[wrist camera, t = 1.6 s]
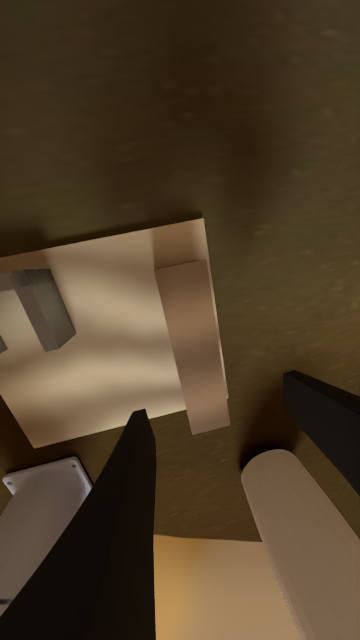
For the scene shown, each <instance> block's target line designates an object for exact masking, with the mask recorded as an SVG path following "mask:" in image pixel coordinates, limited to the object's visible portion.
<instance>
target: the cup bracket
mask: <svg viewBox="0 0 360 640" xmlns="http://www.w3.org/2000/svg"><path fill="white" fill-rule="evenodd" d="M11 290H15V291H16V293H17V296H18V298H19V300H20V302H21V304H22V306H23V308H24V310H25V312H26V314H27V316H28V318H29V320H30V322H31V324H32V327H33V329H34V331H35V333H36V335H37V337H38V339H39V341H40V343H41V345H42V347H43V349H44V351H45V352H48V351H52V350H57V349H60V348H61V347H62V346H63V345H64V344H65V343H67V342H68V341H69V340H70V339H71V338H72V337H73V336H75V335H76V331H75V329H74V326H73V324H72V321H71V319H70V316H69V314H68V312H67V309H66V307H65V304H64V302H63V299H62V297H61V294H60V292H59V289H58V287H57V285H56V282H55V280H54V277H53V275H52V272H51V270H50V269H24V270H18V271H13V272H8V273H3V274H0V293H1V292H6V291H11ZM6 350H8V348H7V346H6V344H5V342H4V341H3V339H2V337H1V335H0V354H1V353H2V352H4V351H6Z"/></svg>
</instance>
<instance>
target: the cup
mask: <svg viewBox="0 0 360 640" xmlns="http://www.w3.org/2000/svg"><path fill="white" fill-rule="evenodd" d="M241 481H242V484H243V487H244V490H245V493H246V496H247V499H248V502H249V505H250V508H251V511H252V514H253V517H254V520H255V522H256V525H257V528H258V531H259V533H260V536H261V539H262V541H263V544H264V547H265V550H266V552H267V555H268V558H269V560H270V563H271V565H272V568H273V571H274V573H275V576H276V579H277V581H278V584H279V587H280V589H281V592H282V594H283V596H284V599H285V601H286V604H287V606H288V609H289V611H290V614H291V616H292V618H293V621H294V623H295V625H296V628H297V631H298V633H299V636H300V638H301V640H360V540H359V538H358V537H357V536H356V534H355V533H354V531H353V530H352V529H351V527H350V526H349V525H348V523H347V522H346V521H345V519H344V518H343V517H342V515H341V514H340V513H339V511H338V510H337V509H336V507H335V506H334V505H333V504H332V502H331V501H330V500H329V498H328V497H327V496H326V494H325V493H324V492H323V490H322V489H321V488H320V487H319V485H318V484H317V483H316V482H315V480H314V479H313V478H312V476H311V475H310V474H309V473H308V471H307V470H306V469H305V468H304V466H303V465H302V464H301V463H300V462H299V460H298V459H297V458H296V457H295V455H294V454H292V453H291V452H289V451H287V450H284V449H275V450H269V451H266V452H263V453H261V454H259V455H257V456H255V457H254V458H253V459H252V460H251V461H249V462H248V464H247V465H246V466H245V468H244V470H243V472H242V475H241Z"/></svg>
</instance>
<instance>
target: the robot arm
mask: <svg viewBox="0 0 360 640" xmlns="http://www.w3.org/2000/svg"><path fill="white" fill-rule="evenodd" d="M283 385H284V406H285V407H286V408H287V410H288V411H289V413H290V414H291V416H292V417H293V418H294V420H295V421H296V422H297V424H298V425H299V426H300V427H301V429H302V430H303V431H304V432H305V433H306V434H307V435H308V437H309V438H310V439H311V440H312V441H313V442H314V443H315V444H316V446H317V447H318V448H319V449H320V450H321V451H322V452H323V453H324V455H325V456H326V457H327V458H328V459H329V460H330V461H331V462H332V464H333V465H334V466H335V467H336V468H337V469H338V470H339V471H340V472H341V474H342V475H343V476H344V477H345V478H346V480H347V481H348V482H349V483H350V484H351V486H352V487H353V488H354V489H355V491H356V492H357V493H358V495H359V496H360V396H357V395H354V394H352V393H349V392H347V391H344V390H342V389H339V388H337V387H335V386H332V385H330V384H327V383H325V382H322V381H320V380H318V379H315V378H313V377H310V376H308V375H305V374H303V373H300V372H298V371H295V370H294V371H290V372H286V373H283ZM3 482H4V484H5V485H6V486H7V487H8V489H9V490H10V491H11V493H12V494H13V497H12V498H11V500H10V502H9V503H8V505H7V506H6V508H5V510H4V511H3V513H2V514H1V516H0V640H156V632H155V598H154V557H153V531H154V507H155V485H156V445H155V437H154V434H153V431H152V428H151V425H150V421H149V418H148V415H147V412H146V409H141V410H137V411H133V412H132V414H131V416H130V418H129V420H128V422H127V424H126V426H125V428H124V430H123V432H122V434H121V436H120V438H119V440H118V442H117V444H116V446H115V448H114V450H113V452H112V454H111V455H110V457H109V459H108V461H107V463H106V464H105V466H104V468H103V470H102V471H101V473H100V475H99V477H98V478H97V480H96V482H95V483H94V485H93V486H92V484H91V482H90V481H89V479H88V477H87V475H86V473H85V471H84V469H83V467H82V466H81V464H80V462H79V460H78V458H77V457H70V458H66V459H62V460H58V461H55V462H51V463H47V464H43V465H40V466H36V467H32V468H28V469H24V470H21V471H17V472H13V473H9V474H7V475H5V476H4V478H3Z"/></svg>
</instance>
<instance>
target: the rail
mask: <svg viewBox="0 0 360 640" xmlns="http://www.w3.org/2000/svg"><path fill="white" fill-rule="evenodd" d="M154 273H155V277H156V281H157V286H158V290H159V294H160V299H161V303H162V307H163V311H164V316H165V320H166V324H167V328H168V333H169V337H170V341H171V345H172V350H173V354H174V358H175V363H176V367H177V371H178V375H179V380H180V384H181V388H182V392H183V397H184V401H185V405H186V410H187V414H188V418H189V422H190V427H191V431H192V435H195V434H198V433H202V432H206V431H210V430H213V429H217V428H221V427H224V426H228V425H230V420H229V413H228V406H227V399H226V392H225V385H224V378H223V371H222V364H221V357H220V350H219V343H218V336H217V329H216V322H215V315H214V308H213V301H212V294H211V287H210V280H209V273H208V266H207V259H202V260H194V261H189V262H184V263H179V264H174V265H170V266H165V267H160V268H155V269H154Z"/></svg>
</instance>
